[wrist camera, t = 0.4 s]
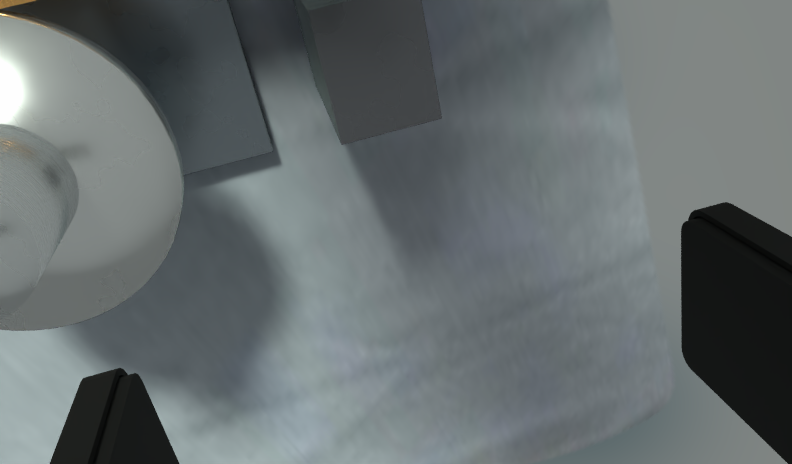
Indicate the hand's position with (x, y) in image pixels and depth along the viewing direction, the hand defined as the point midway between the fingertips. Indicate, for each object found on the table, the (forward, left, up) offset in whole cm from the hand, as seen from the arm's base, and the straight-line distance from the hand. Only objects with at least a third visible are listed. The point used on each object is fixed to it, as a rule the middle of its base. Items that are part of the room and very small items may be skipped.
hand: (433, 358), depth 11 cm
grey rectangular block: (-1, +2, -25) cm, 25 cm away
